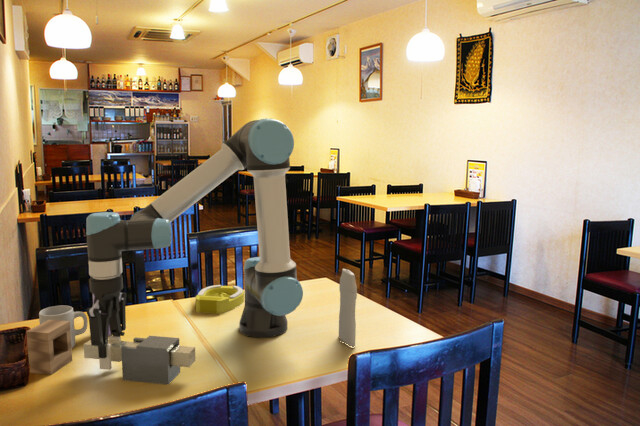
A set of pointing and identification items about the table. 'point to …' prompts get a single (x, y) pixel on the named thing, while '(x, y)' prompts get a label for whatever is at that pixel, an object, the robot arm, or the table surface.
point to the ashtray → (219, 299)
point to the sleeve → (149, 360)
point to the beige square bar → (177, 354)
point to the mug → (64, 318)
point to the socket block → (49, 346)
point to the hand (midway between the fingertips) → (110, 364)
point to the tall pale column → (347, 307)
